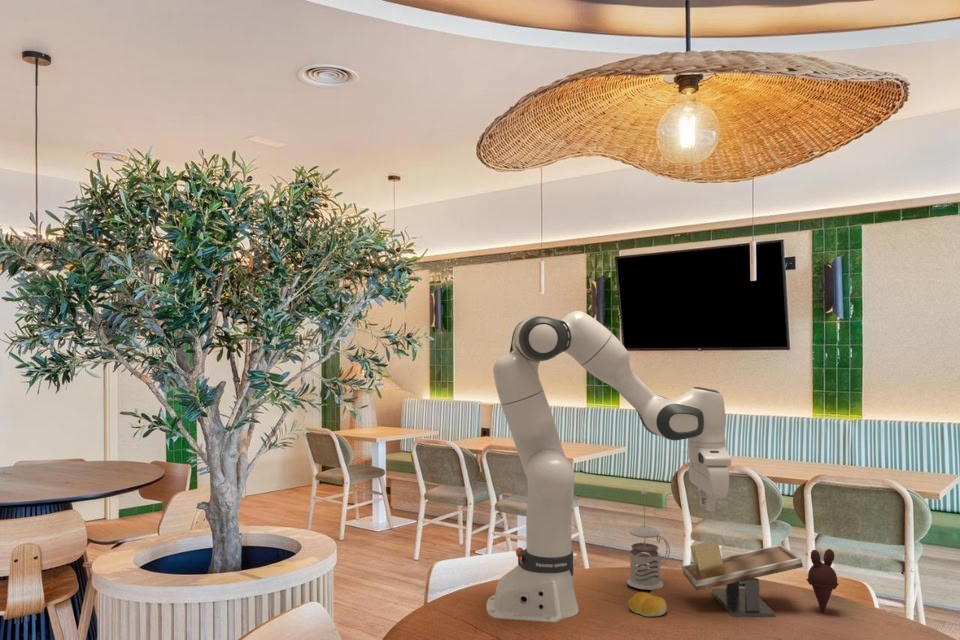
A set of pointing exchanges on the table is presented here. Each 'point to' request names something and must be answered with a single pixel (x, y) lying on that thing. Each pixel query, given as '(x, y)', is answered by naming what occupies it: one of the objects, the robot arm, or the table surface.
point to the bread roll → (647, 604)
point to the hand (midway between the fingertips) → (707, 508)
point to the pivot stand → (743, 600)
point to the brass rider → (707, 559)
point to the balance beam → (746, 566)
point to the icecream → (822, 577)
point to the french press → (645, 558)
